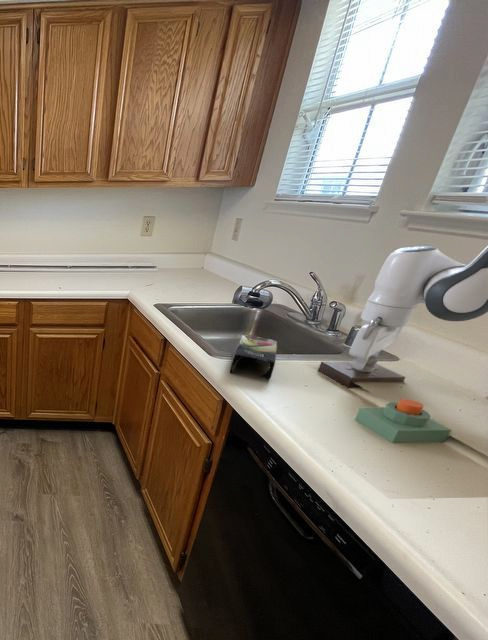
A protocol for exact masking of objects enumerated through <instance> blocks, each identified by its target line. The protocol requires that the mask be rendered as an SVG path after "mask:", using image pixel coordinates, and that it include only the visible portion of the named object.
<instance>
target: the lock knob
mask: <svg viewBox="0 0 488 640" xmlns="http://www.w3.org/2000/svg"><path fill="white" fill-rule="evenodd" d="M352 361H353V364H352V366H351V367H352V368H353V369H356V368H355V364H356V361H357V357H354V359H353V360H352ZM378 361H379V357H378V356H377V357H376V356H373V355H371V356H370V357H369V358H368V360H367V364H366V367H365V368H364V369H362V370H359V369H356V370H358V371H362V372H373V370H374V368H375V366H376V364H378Z"/></svg>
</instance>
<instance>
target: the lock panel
mask: <svg viewBox="0 0 488 640" xmlns="http://www.w3.org/2000/svg"><path fill="white" fill-rule="evenodd" d="M353 361H354V360H342V361H341V360H340V361H339V360H333V361H332V360H331V361H330V360H328V361H327V360H326V361H325V360H323V361H322V360H321V362H320V364H319V367H318V369H317V372H318V373H320V374H321V373H322V375H323V374H324V375H323V376H325V375H326V376H325V377H327V376H328V377H329V378H328V377H327V378H328V379H330V378H331V379H330V380H332V379H333V380H332V381H334V380H335V381H336V382H335V381H334V382H335V383H337V382H338V383H337V384H339V383H340V384H339V385H340V386H342V385H343V386H342V387H344V386H345V388H346V387H347V388H346V389H364V387H362V386H361V385H360V384H357V383H393V382H394V383H403V382H405V379H406V376H404V375H403V374H400V373H398V372H395V371H393V370H391V369H389V368H387V367H385V366H383V365H380V364H378V363H377V364H376V366H375V368H374V370H373V372H362V371H358V370H356V369H353V368H352V367H351V366H352V364H353Z"/></svg>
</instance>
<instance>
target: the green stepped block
mask: <svg viewBox="0 0 488 640" xmlns="http://www.w3.org/2000/svg"><path fill="white" fill-rule="evenodd" d="M398 403H399V401H392V402H391V401H390V402H388V403H387V404H385V407H380V406H379V407H359V409H358V411H357V413H356V415H355V418H354V420H355V421H356V422H358V423H359V424H362V426H365V428H367V429H369V430H371V431H372V432H373V433H376V434H377V435H379V436H380V437H382V438H383V439H385V440H387V441H388V442H389V443H390V444H417V443H419V444H421V443H422V444H423V443H425V444H426V443H445V442H446V440H447V439H448V437H449V436H450V433H451V432H452V429H450V428H449V427H447V426H445V425H443V424H441V423H440V422H437V421H436V420H434V419H432V418H431V414H430V413H429V412H428V411H426V410H424V409H422V411H421V413H420V415H411V414H407V413H404V412H401V411H399V410H397V409H396V407H397V405H398Z"/></svg>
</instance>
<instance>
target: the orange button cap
mask: <svg viewBox="0 0 488 640" xmlns="http://www.w3.org/2000/svg"><path fill="white" fill-rule="evenodd" d="M398 402H399V403H398V405H397V407H396V409H397V410H399V411H401V412H404V413H407V414H411V415H420V413H421V411H422V410H424V407H425V406H424V404H423V403H421V402H419V401H417V400H414V399H410V398H409V399H408V398H400V399H399V401H398Z"/></svg>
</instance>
